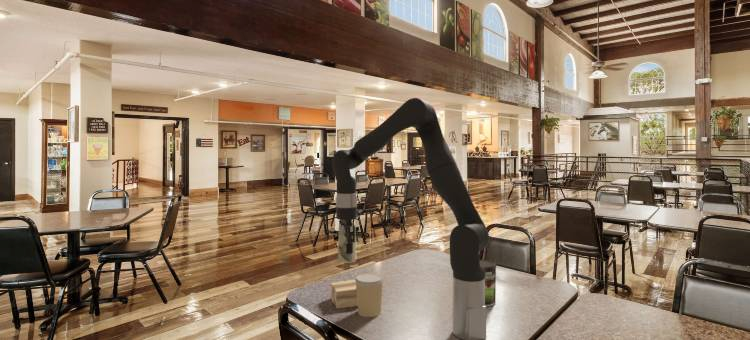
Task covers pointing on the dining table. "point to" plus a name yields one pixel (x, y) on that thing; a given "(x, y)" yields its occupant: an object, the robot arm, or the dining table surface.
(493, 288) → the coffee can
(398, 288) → the dining table surface
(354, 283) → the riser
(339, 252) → the box
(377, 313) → the coffee cup
